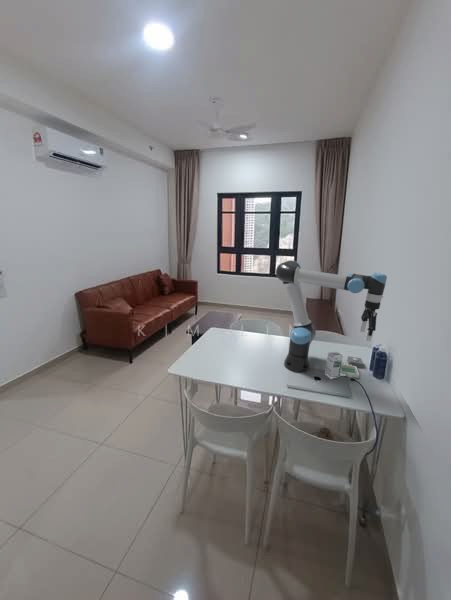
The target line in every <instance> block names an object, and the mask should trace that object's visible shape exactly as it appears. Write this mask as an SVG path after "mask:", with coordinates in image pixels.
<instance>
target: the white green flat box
mask: <svg viewBox="0 0 451 600" xmlns="http://www.w3.org/2000/svg"><path fill="white" fill-rule="evenodd" d="M357 369H358V367H356V366H352V364H350V365H349V364H348V363H344V362H342V364H341V370H340V373H342V374H345V375H346V376H347V377H346V378H351V379H356V380H360V373H359V370H357Z"/></svg>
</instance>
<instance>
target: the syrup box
mask: <svg viewBox="0 0 451 600" xmlns="http://www.w3.org/2000/svg"><path fill="white" fill-rule="evenodd" d="M343 357H344V356H343V355H342V354H341V353H340V352H338V351H331V352H329V351H328V353H327V358H326V364H325V371H324V374H325V373H326V374H328V375H329V376H330V377H338V376H339V377H340V370H341V364H343Z"/></svg>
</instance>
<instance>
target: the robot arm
mask: <svg viewBox="0 0 451 600" xmlns="http://www.w3.org/2000/svg"><path fill="white" fill-rule="evenodd" d="M275 275H276V277H277V279H278V280H280V281H281V282H282V284H283V286H285V287H286V290H287V294H288V299H289V303H290V307H291V311H292V314H293V315H292V316H293V320H294V322H293V325H292V326H293V329H291V332H290V337H289V338H290V339H289V346H288V353H287V355H286V357H285V359H284V363H283V365H284V367H285V368H286V369H287V370H289V371H291V372H296V373H306V372H308V371H309V370H310V366H311V365H310V360H309V353H310V352H309V351H310V347H311V344H312V342H313V341H314V339H315V336H316V327H314V324H313V323H312V320H310V319H309V316H308V312H307V308H306V303H305V300H304V294H303V291H302V286H301V283H303V284H307V285H308V284H309V285H313V286H319V287H320V286H321V287H326V288H330V289H331V288H332V289H337V290H343V291H348V292H350V293H352V294H359V293H361V292H363V290H367V293H366V297H365V300H364V301H365V302H364V307H365V308H364V310H363V312H362V315H361V317H360V319H361V322H360V327H359V330H358V331H359V332H360V333H365V332H366V335H365V339H364V341H366V342H371V341H372V339H373V334H374V332H375V331H376V326H377V315H378V312H376V310H379V309H380V307H381V302H382V299H383V298H384V296H383V294H384V291H385V287H386V285H387V283H386V282H387V279H388V278H387V277H388V276H387V274H385V273H380V272H379V273H378V272H373V273H371V275H364V274H357V273H348V274H347V275H342V274H336V273H331V272H330V273H328V272H322V271H316V270H309V269H303V268H302V267H301V265H300V263H298V262H297V261H296V260H291V259H290V260H286V261H284V262H281V263H279V264H278V265H277V267H276V269H275ZM367 322H368V328H367V331H366V326H367ZM307 370H308V371H307Z"/></svg>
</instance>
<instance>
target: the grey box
mask: <svg viewBox="0 0 451 600" xmlns="http://www.w3.org/2000/svg"><path fill="white" fill-rule="evenodd" d="M346 361H347V365H348V364H349V365H350V364H352V366H356V367H357V370H358V369H364V361H363V360H362V358H361V357H355V356H349V355H348V356H347V358H346ZM358 371H359V370H358Z"/></svg>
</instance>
